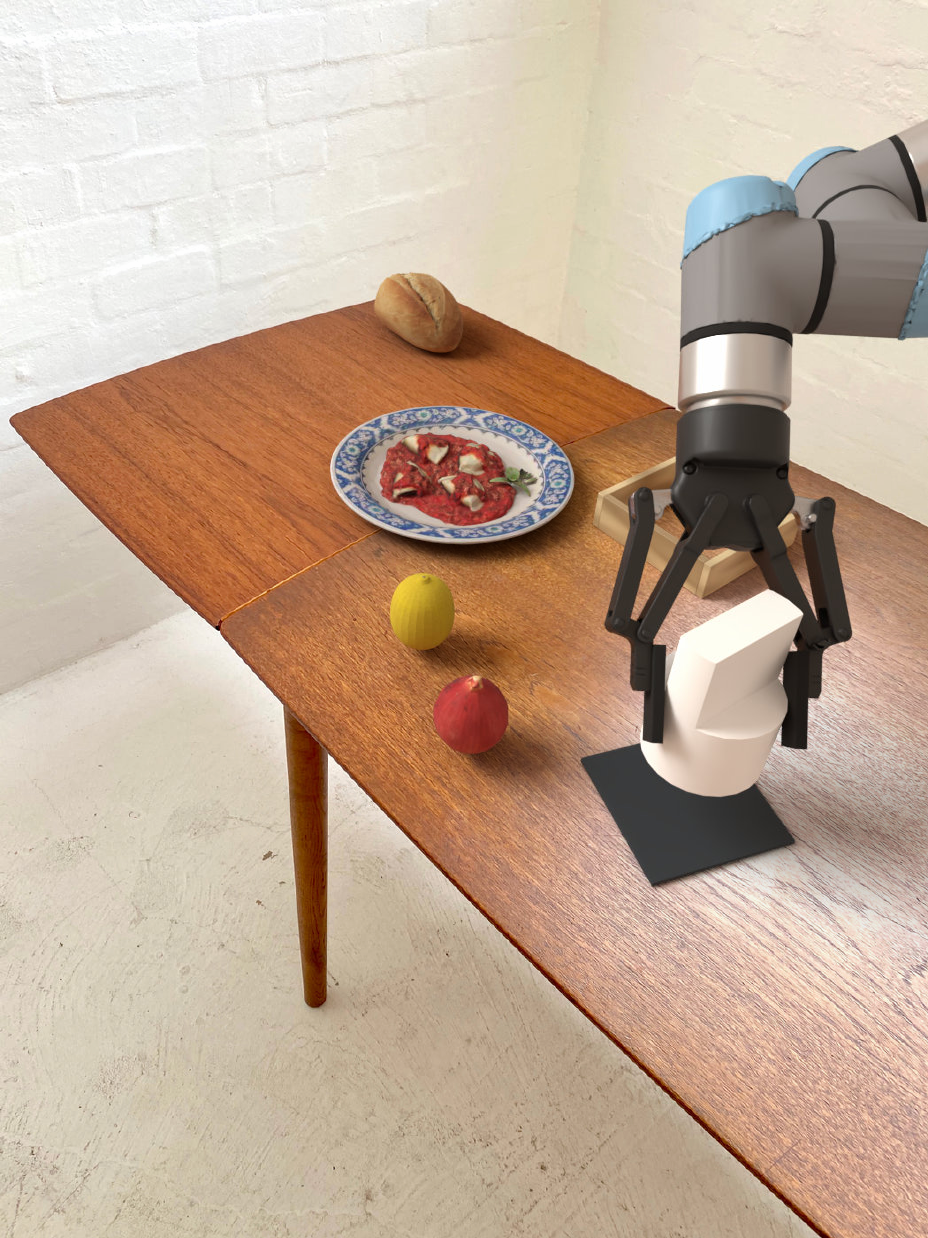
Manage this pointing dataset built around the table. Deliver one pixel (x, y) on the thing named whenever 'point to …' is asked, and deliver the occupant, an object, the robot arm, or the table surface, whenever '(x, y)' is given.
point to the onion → (471, 714)
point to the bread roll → (420, 311)
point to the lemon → (422, 611)
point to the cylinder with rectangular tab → (725, 698)
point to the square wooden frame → (705, 571)
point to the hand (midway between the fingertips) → (723, 744)
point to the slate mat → (680, 818)
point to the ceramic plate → (452, 474)
